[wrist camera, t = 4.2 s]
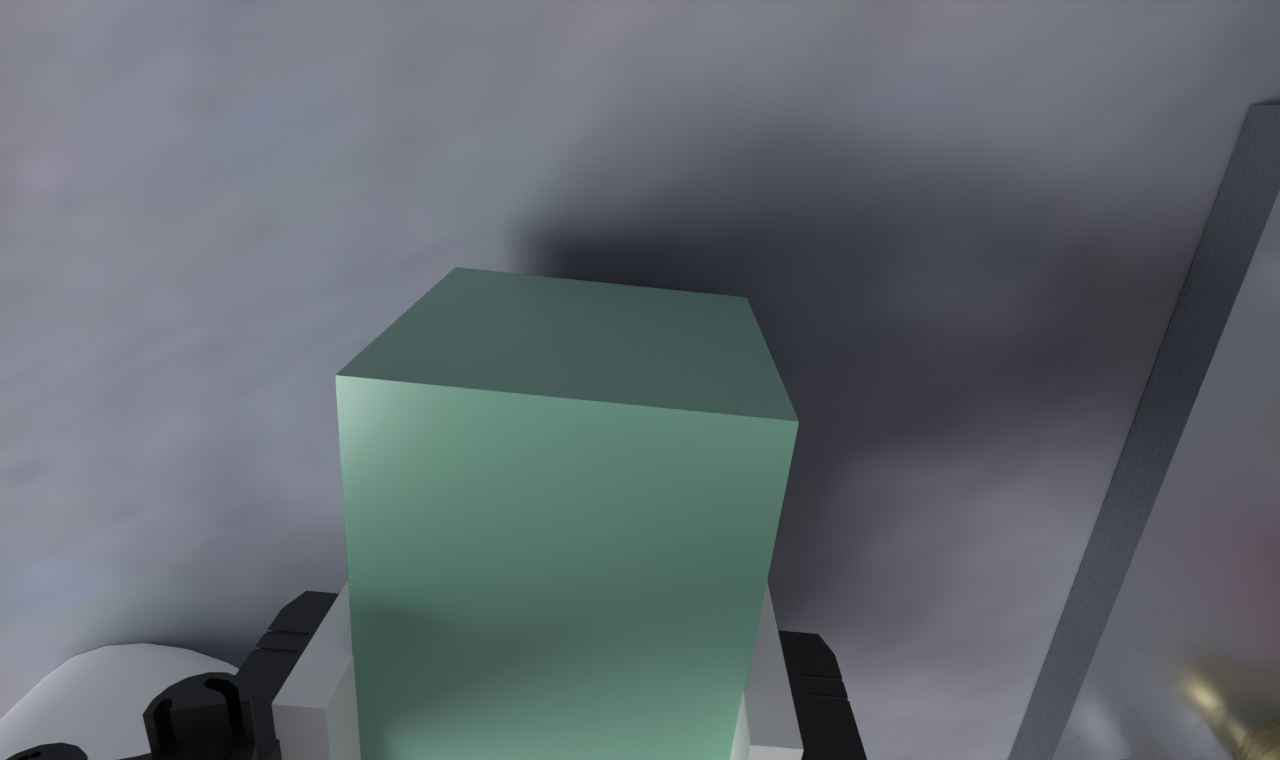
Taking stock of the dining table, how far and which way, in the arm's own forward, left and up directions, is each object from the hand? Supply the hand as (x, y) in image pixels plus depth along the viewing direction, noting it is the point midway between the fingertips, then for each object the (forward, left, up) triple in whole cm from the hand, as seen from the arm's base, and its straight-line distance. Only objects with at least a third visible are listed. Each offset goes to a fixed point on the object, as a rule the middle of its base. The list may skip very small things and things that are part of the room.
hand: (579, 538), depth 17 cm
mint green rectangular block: (0, 0, 0) cm, 0 cm away
